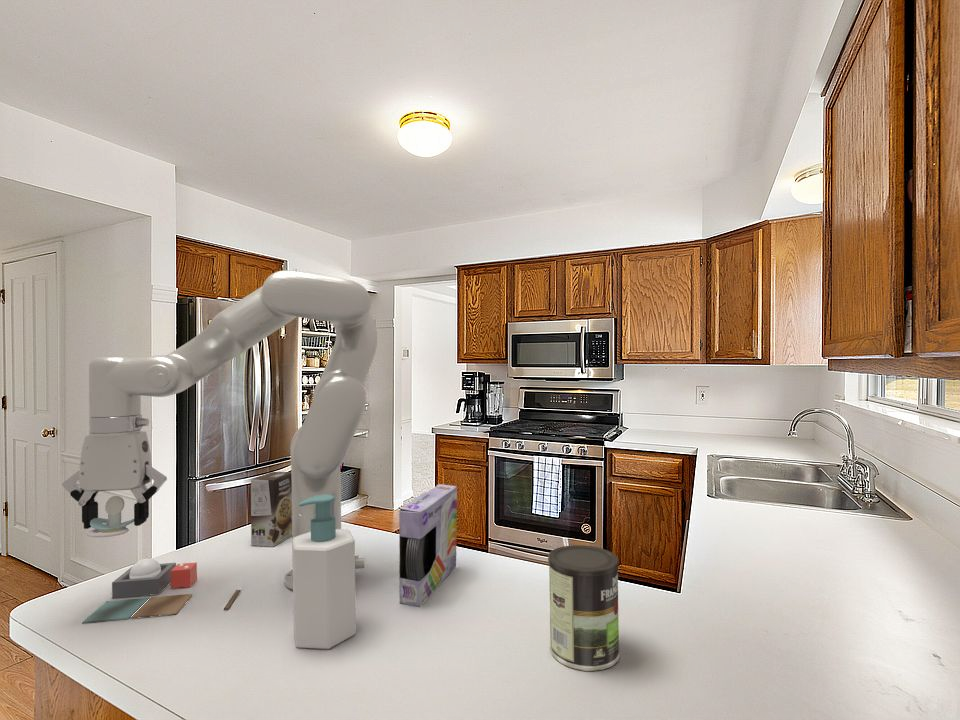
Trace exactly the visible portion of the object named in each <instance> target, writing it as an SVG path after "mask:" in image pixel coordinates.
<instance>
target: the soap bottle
mask: <svg viewBox="0 0 960 720" xmlns="http://www.w3.org/2000/svg"><path fill="white" fill-rule="evenodd" d="M334 500H335V497H334V496H332V495H326V494H325V495H318V496H314V497H311V498H309V499H306V500H303V501H302V502H300V503H299V506H305V505H309V504H315V505H316V517H315V518H313V519H311V532H309V533H305V534H302V535H299V536H296V537H294V538H293V539H292V538H291V539H292V540H291V541H292V542H291V543H292V544H293V558H292V569H293V590H292V597H293V598H292V599H293V600H292V601H293V602H292V603H293V606H292V607H293V635H294V645H295V647H296V648H300V649H301V648H302V649H317V650H319V649H321V650H330V649H331V648H333V647H335V646H337V645H338V644H340V643H342V642H344V641H346V640H348V639H349V638H351V637H353V636H355V635H356V633H357V623H356V622H357V617H356V616H357V615H356V609H357V608H356V569H355V556H356V553H355V551H356V546H355V544H356V541H355V538H354V536H353V534H352V532H351V531H350V530H349V529H347V528H346V529H345V528H343V529H342V528H341V529H336V524H335V517H334V516H330V502H332V501H334Z"/></svg>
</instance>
